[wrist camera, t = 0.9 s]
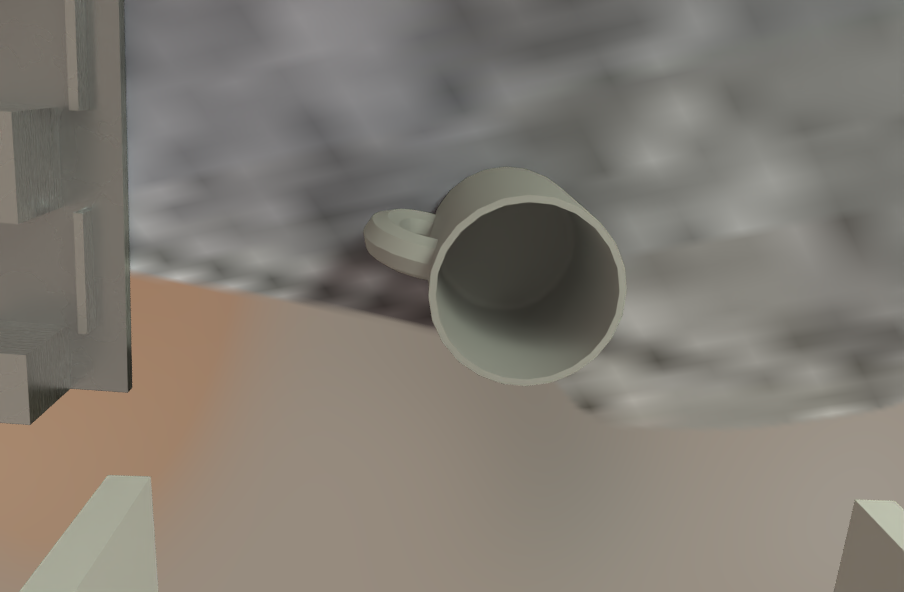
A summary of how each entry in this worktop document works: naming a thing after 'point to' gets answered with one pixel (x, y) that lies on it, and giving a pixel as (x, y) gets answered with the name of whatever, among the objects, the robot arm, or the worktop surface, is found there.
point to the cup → (510, 274)
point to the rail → (62, 204)
